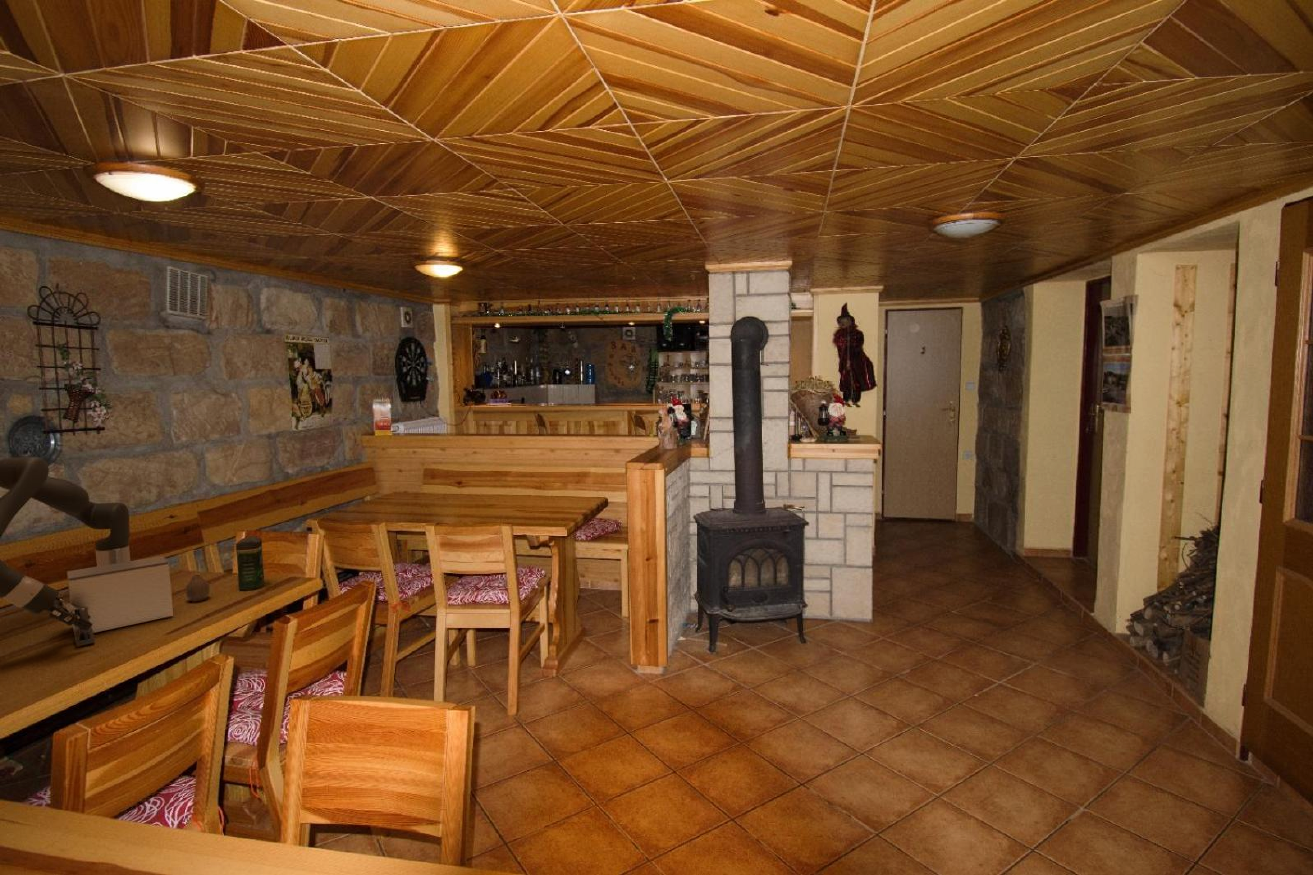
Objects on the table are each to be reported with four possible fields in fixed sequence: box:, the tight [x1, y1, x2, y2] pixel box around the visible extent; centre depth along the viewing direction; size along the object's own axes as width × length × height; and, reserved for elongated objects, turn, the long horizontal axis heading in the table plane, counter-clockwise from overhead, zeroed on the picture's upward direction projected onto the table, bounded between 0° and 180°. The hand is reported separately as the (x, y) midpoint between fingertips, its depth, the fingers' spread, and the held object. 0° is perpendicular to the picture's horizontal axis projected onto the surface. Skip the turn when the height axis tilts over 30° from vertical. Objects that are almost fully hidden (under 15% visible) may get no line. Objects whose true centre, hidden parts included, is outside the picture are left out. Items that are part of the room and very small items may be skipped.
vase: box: [185, 574, 211, 603], centre depth 229 cm, size 7×7×9 cm
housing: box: [66, 555, 169, 637], centre depth 209 cm, size 10×24×18 cm, turn 134°
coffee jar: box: [235, 535, 265, 591], centre depth 242 cm, size 10×8×19 cm
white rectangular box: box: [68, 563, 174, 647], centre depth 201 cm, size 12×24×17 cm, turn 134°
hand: (88, 623), depth 192 cm, fingers open, 8 cm apart
